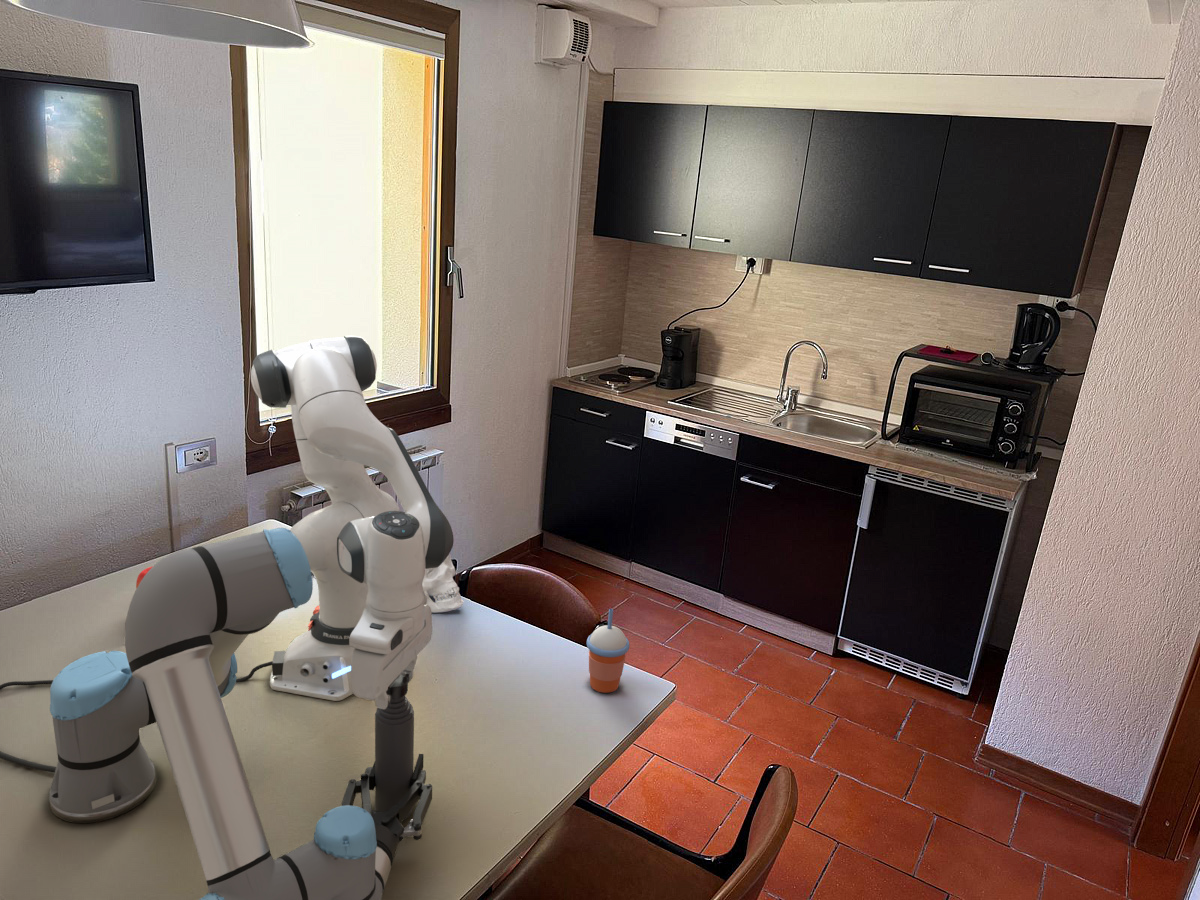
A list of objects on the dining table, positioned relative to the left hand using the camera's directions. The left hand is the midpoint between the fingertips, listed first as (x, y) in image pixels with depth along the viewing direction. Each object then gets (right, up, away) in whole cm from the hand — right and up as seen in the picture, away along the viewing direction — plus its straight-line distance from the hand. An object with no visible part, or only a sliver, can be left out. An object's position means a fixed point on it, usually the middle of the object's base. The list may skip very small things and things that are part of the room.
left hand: (401, 759), depth 146 cm
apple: (-69, +16, +54) cm, 89 cm away
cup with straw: (+35, +2, +37) cm, 51 cm away
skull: (-9, +15, +67) cm, 69 cm away
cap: (+1, +16, -10) cm, 19 cm away
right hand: (+1, +14, -10) cm, 17 cm away
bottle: (0, -7, -3) cm, 8 cm away
